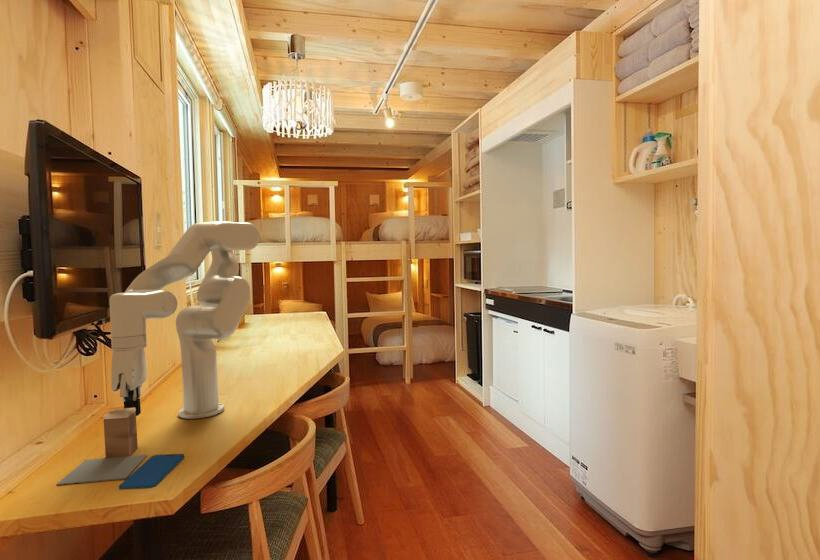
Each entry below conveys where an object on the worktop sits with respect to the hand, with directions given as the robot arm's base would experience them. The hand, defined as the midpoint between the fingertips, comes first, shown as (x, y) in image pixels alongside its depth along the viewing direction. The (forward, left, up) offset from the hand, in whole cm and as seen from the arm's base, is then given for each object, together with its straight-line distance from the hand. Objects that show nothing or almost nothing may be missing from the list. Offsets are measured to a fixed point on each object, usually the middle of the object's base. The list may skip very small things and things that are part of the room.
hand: (132, 415), depth 121 cm
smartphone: (+20, +11, -7) cm, 24 cm away
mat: (+16, 0, -7) cm, 18 cm away
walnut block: (+7, 0, -7) cm, 10 cm away
